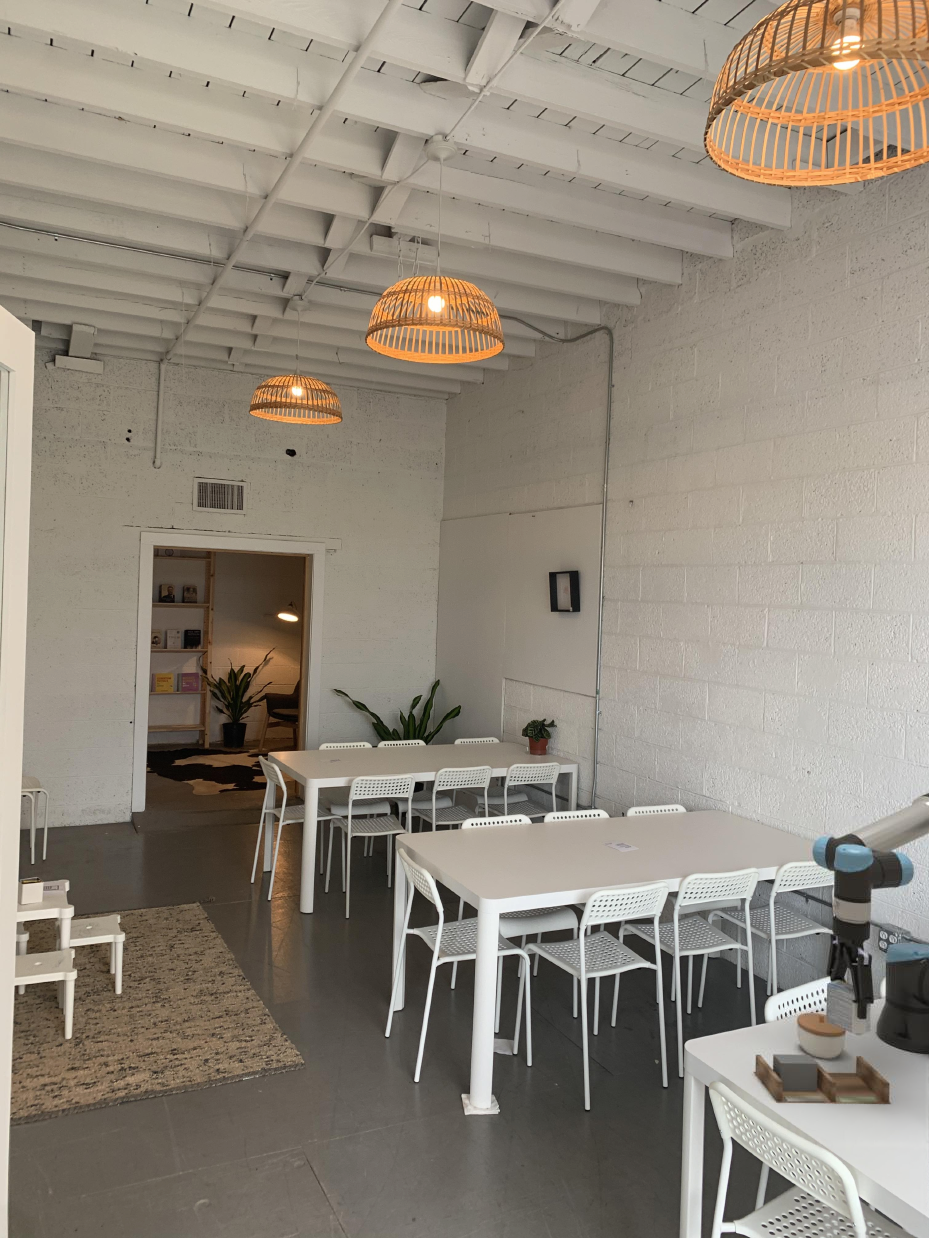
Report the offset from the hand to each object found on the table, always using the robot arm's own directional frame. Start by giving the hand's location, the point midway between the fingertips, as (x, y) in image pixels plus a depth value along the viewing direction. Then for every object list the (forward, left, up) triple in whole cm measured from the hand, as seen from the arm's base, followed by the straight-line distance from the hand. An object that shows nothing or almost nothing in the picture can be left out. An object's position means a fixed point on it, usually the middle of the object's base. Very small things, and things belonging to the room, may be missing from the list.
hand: (847, 1022), depth 192 cm
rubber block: (+11, 0, -14) cm, 18 cm away
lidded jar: (-2, -17, -15) cm, 23 cm away
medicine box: (0, 0, -1) cm, 1 cm away
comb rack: (+6, 0, -15) cm, 16 cm away
